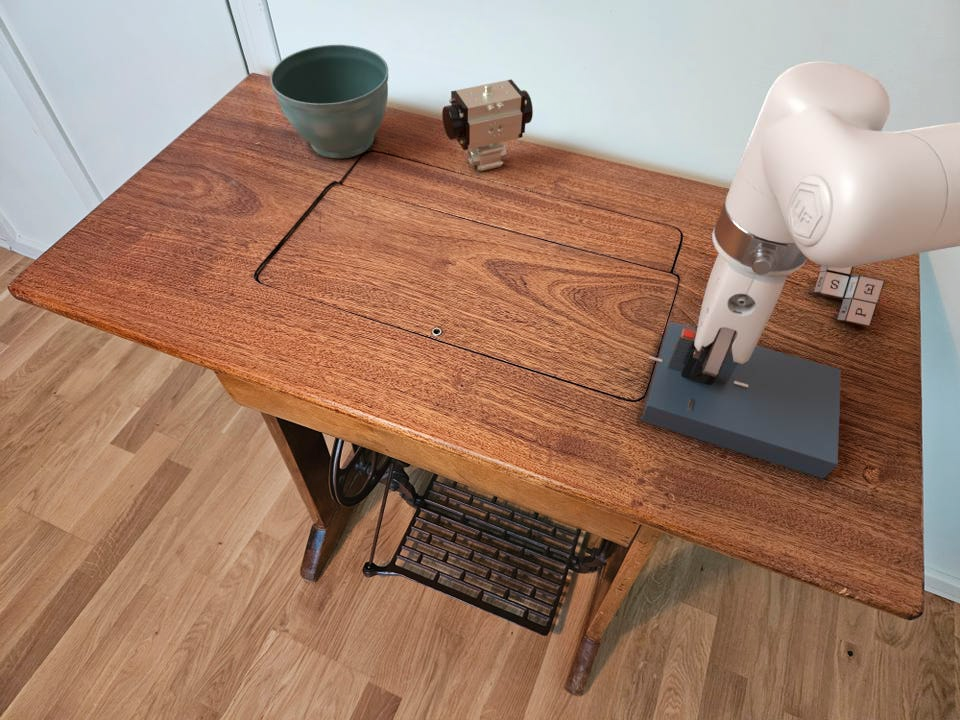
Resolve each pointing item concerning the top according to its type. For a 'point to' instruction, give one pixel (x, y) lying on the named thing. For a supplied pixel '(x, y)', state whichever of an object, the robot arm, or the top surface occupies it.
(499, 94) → the pneumatic valve
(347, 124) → the flower pot
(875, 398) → the top surface
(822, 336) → the top surface
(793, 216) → the robot arm
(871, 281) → the building blocks
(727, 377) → the lever
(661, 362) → the blue-grey rectangular block
